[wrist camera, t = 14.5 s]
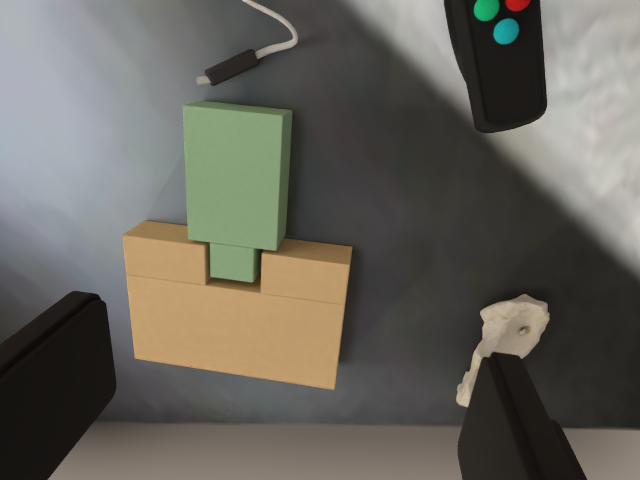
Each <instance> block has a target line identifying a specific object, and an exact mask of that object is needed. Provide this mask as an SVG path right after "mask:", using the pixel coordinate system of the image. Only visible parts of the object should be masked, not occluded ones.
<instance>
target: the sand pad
mask: <svg viewBox="0 0 640 480" xmlns="http://www.w3.org/2000/svg"><path fill="white" fill-rule="evenodd" d="M123 246H124V255H125V265H126V276H127V286H128V296H129V305H130V315H131V324H132V334H133V343H134V353H135V358H136V359H142V360H149V361H155V362H161V363H168V364H174V365H180V366H187V367H193V368H199V369H206V370H212V371H218V372H225V373H231V374H237V375H244V376H250V377H256V378H263V379H269V380H275V381H282V382H288V383H295V384H301V385H307V386H314V387H320V388H326V389H333V390H334V389H335V382H336V375H337V368H338V361H339V353H340V344H341V336H342V328H343V320H344V312H345V304H346V296H347V287H348V279H349V271H350V263H351V255H352V247H350V246H342V245H334V244H326V243H319V242H311V241H303V240H295V239H287V238H283V240H282V242H281V243H280V245H279V247H278V249H277V251H273V250H265V249H264V251H263V253H262V265H261V272H259V273H258V275H257V277H256V278H255V280H254V282H245V281H238V280H231V279H223V278H216V277H211V268H210V242H204V241H197V240H189V239H188V226H184V225H176V224H169V223H161V222H153V221H145V220H144V221H143V222H141V223H140V224H138V225H137V226H135V227H134V228H132V229H131V230H129V231H128V232H126V233H125V234H123Z"/></svg>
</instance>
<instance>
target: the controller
mask: <svg viewBox="0 0 640 480" xmlns="http://www.w3.org/2000/svg"><path fill="white" fill-rule="evenodd" d="M444 7H445V12H446V18H447V23H448V29H449V34H450V39H451V43H452V47H453V50H454V54H455V57H456V61H457V63H458V66H459V69H460V71H461V73H462V76H463V78H464V80H465V81H466V84H467V89H468V94H469V99H470V105H471V110H472V115H473V120H474V125H475V128H476V129H477V131H480V132H482V133H494V132H500V131H506V130H511V129H515V128H518V127H521V126H523V125H526V124H529V123H532V122H534V121H536V120H537V119H539V118H540V117H541V116H542V115H543V114H544V113H545V111H546V108H547V95H546V80H545V66H544V52H543V38H542V24H541V9H540V0H444Z"/></svg>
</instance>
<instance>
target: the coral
mask: <svg viewBox="0 0 640 480" xmlns="http://www.w3.org/2000/svg"><path fill="white" fill-rule="evenodd" d="M480 315H481V317H482V319H483V320H484V325H483V327H482V331H483V339H482V341H481V342H480V343H479V345H478V346H477V348H476V350H475V351H474V354H473V360H472V363H471V369H470V371H469V372H467V371H466V373H465V375H464V378H463V383H462V384H459V385H458V388H457V391H458V394H457V399H456V400H457V402H458V404H459V405H463V406H464V407H468V405H469V401H470V398H471V394H472V391H473V387H474V384H475V380H476V377H477V373H478V370H479V366H480V362H481V360H482V358H483V357H490V355H491V353H492V352H500V353H507V354H514V355H518V356H520V358H521V359H522V358H523V357H525V356H526V355H528V354H529V352H530V351H531V350H532V349H533V347H534V346H535V345H536V344H537V343H538V342H539V339H540V336H541V334H542V332H544V330H545V327H546V325H547V323H548V321H549V320H550V319H549V315H550V314H549V313H548V312H547V303H545V302H543V301H538V300H535V299H534V298H532V297H529V296H528V295H526V294H524V295H521V296H519V297H518V298H515V299H512V300H508V301H502V302H498V303H495V304H493V305H490V306H488V307H486V308H484V309H483V310H482V311H481V312H480Z"/></svg>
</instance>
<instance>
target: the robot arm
mask: <svg viewBox="0 0 640 480" xmlns="http://www.w3.org/2000/svg"><path fill="white" fill-rule="evenodd" d="M115 391H116V376H115V369H114V361H113V353H112V345H111V338H110V330H109V322H108V314H107V307H106V303H105V302H104V301H101V298H100V296H99V295H97V294H93V293H87V292H80V291H72V292H71V293H69V294H67V295H66V296H65V297H63V298H62V299H61V300H59V301H58V302H57V303H55V304H54V305H53V306H51V307H50V308H49V309H47V310H46V311H45V312H43V313H42V314H41V315H39V316H38V317H37V318H35V319H34V320H33V321H31V322H30V323H29V324H27V325H26V326H24V327H23V328H22V329H20V330H19V331H18V332H16V333H15V334H14V335H12V336H11V337H10V338H8V339H7V340H6V341H4V342H3V343H2V344H0V480H48V478H49V477H50V476H51V475H52V473H53V472H54V471H55V470H56V468H57V467H58V466H59V464H60V463H61V462H62V461H63V459H64V458H65V457H66V456H67V454H68V453H69V452H70V451H71V450H72V448H73V447H74V446H75V444H76V443H77V442H78V441H79V440H80V438H81V437H82V436H83V434H84V433H85V432H86V431H87V429H88V428H89V427H90V425H91V424H92V423H93V422H94V421H95V419H96V418H97V417H98V416H99V414H100V413H101V412H102V411H103V409H104V408H105V407H106V406H107V404H108V403H109V402H110V401H111V399H112V398H113V396H114V394H115ZM458 459H459V464H460V469H461V474H462V479H463V480H587V478H586V476H585V474H584V472H583V470H582V468H581V466H580V464H579V462H578V460H577V458H576V456H575V454H574V452H573V450H572V448H571V446H570V444H569V442H568V440H567V438H566V436H565V434H564V432H563V430H562V428H561V426H560V425H559V423H558V422H556V421H555V420H553V419H549V416H548V414H547V412H546V410H545V408H544V406H543V404H542V402H541V399H540V397H539V395H538V393H537V391H536V389H535V387H534V385H533V383H532V380H531V378H530V376H529V374H528V372H527V370H526V368H525V366H524V363H523V361H522V359H521V358H520V356H518V355H514V354H507V353H500V352H492V353H491V355H490V357H483V358H482V360H481V362H480V366H479V370H478V373H477V377H476V380H475V384H474V387H473V391H472V394H471V398H470V401H469V405H468V408H467V412H466V416H465V419H464V423H463V426H462V430H461V433H460V437H459V441H458Z"/></svg>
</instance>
